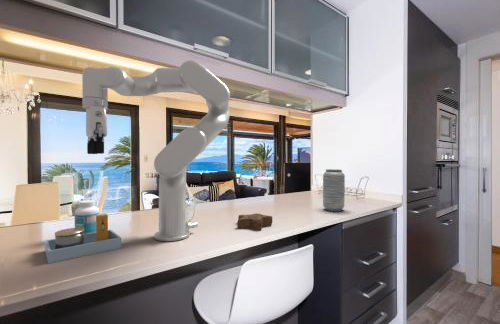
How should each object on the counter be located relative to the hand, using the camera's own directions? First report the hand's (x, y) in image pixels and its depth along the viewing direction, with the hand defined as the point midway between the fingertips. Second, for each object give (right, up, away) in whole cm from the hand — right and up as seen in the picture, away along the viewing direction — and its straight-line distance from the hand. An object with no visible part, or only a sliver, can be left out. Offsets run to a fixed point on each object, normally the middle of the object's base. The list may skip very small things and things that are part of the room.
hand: (95, 153), depth 88 cm
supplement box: (+6, -30, -7) cm, 31 cm away
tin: (0, -30, -13) cm, 33 cm away
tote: (+3, -30, -11) cm, 32 cm away
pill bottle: (-4, -31, +1) cm, 31 cm away
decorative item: (+55, -31, +20) cm, 66 cm away
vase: (+102, -30, +55) cm, 119 cm away
